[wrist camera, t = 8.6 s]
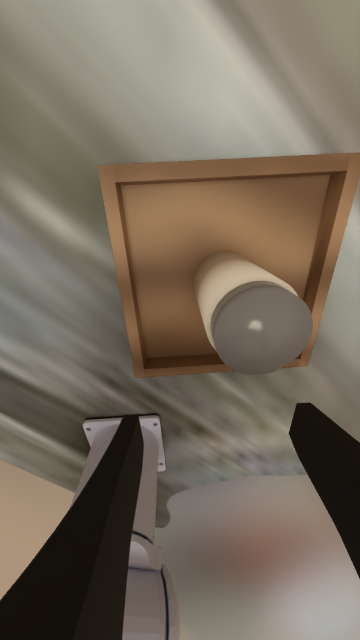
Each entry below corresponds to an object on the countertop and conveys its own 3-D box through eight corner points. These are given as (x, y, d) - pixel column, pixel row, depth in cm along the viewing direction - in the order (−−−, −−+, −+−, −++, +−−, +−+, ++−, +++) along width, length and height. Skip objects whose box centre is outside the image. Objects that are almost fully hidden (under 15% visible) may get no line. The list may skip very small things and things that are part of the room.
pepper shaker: (248, 307, 17) (305, 374, 10) (193, 310, 17) (209, 380, 10) (254, 249, 15) (330, 281, 8) (192, 252, 15) (210, 287, 8)
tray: (295, 352, 20) (307, 366, 18) (138, 362, 20) (135, 377, 18) (339, 160, 13) (365, 152, 12) (107, 172, 13) (97, 165, 11)
